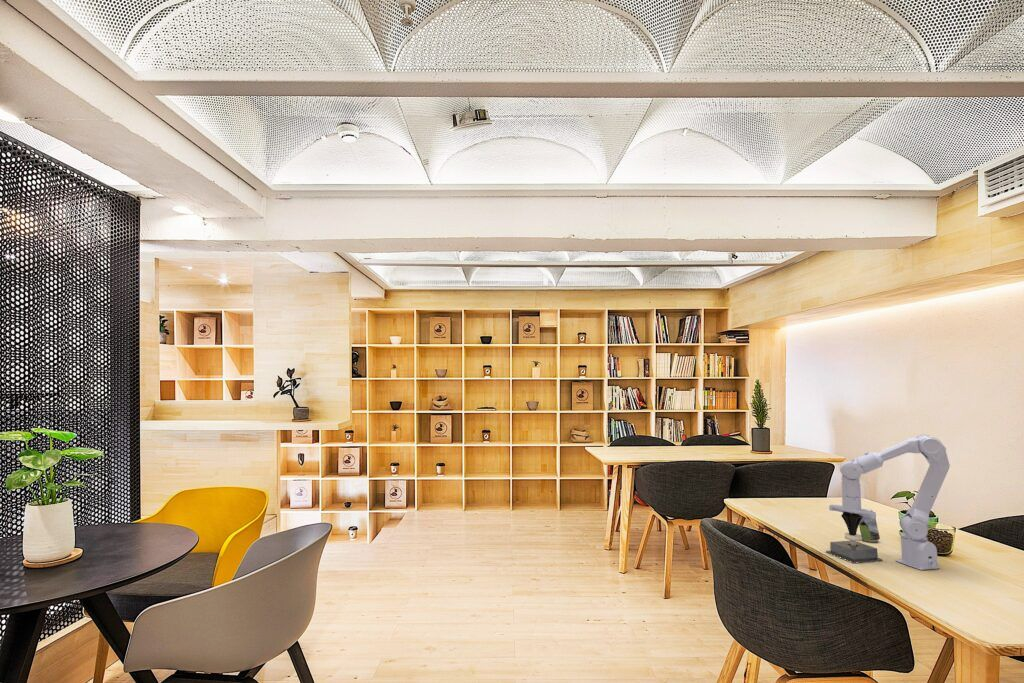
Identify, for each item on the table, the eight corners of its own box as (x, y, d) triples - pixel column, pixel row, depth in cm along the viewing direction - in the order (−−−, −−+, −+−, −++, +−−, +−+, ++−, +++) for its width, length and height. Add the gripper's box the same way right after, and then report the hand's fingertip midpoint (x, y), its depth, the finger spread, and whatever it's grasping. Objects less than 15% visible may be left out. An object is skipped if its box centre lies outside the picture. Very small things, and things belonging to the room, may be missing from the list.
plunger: (865, 550, 190) (864, 536, 191) (853, 551, 189) (852, 537, 189) (853, 546, 195) (852, 532, 195) (841, 547, 194) (841, 533, 194)
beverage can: (879, 544, 207) (878, 512, 207) (856, 541, 211) (855, 509, 212) (880, 540, 212) (879, 509, 212) (858, 537, 216) (857, 506, 217)
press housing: (882, 561, 187) (882, 549, 188) (853, 563, 185) (853, 551, 185) (853, 550, 199) (853, 539, 199) (826, 552, 196) (825, 541, 197)
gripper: (879, 498, 190) (880, 538, 189) (835, 491, 202) (836, 528, 201) (870, 500, 186) (871, 541, 185) (825, 493, 198) (827, 531, 197)
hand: (852, 534), depth 192 cm, fingers closed, pressing on plunger
